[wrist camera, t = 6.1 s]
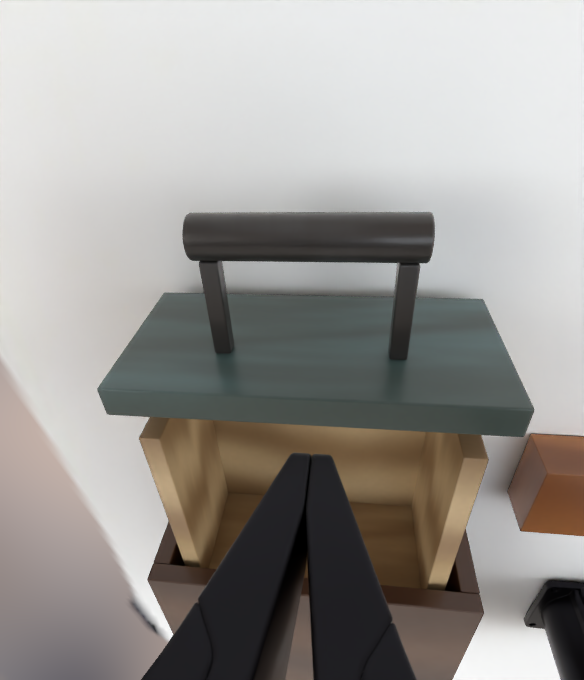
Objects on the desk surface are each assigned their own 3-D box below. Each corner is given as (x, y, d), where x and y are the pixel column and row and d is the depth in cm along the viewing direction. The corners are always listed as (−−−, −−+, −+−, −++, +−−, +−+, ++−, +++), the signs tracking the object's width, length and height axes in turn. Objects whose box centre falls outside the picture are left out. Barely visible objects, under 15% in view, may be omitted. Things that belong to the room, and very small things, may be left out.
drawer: (135, 176, 16) (37, 246, 11) (514, 172, 15) (598, 250, 10) (210, 483, 27) (177, 589, 22) (434, 499, 25) (454, 617, 20)
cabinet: (197, 441, 26) (146, 579, 20) (449, 456, 25) (484, 613, 18) (228, 565, 35) (199, 690, 28) (417, 583, 33) (433, 721, 27)
